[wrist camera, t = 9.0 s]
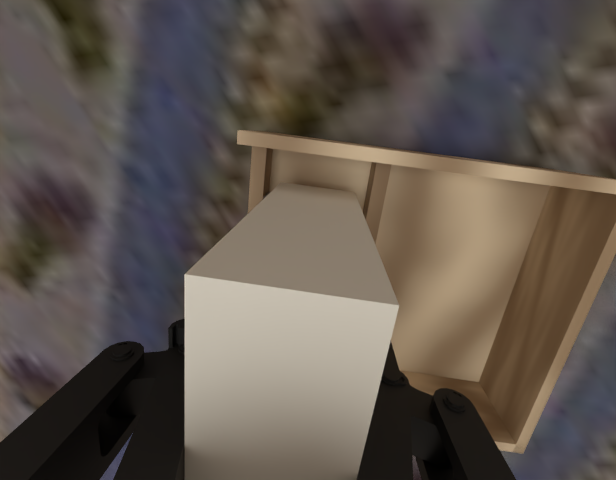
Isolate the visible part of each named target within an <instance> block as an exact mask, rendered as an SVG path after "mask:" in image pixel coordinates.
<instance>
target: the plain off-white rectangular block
mask: <svg viewBox="0 0 616 480" xmlns="http://www.w3.org/2000/svg"><path fill="white" fill-rule="evenodd" d="M398 309H399V304H398V301H397V298H396V296H395V293H394V291H393V288H392V286H391V283H390V281H389V278H388V276H387V273H386V270H385V268H384V265H383V263H382V260H381V258H380V255H379V253H378V250H377V248H376V245H375V242H374V240H373V237H372V235H371V232H370V230H369V227H368V225H367V222H366V220H365V217H364V215H363V212H362V209H361V207H360V204H359V202H358V199H357V197H356V194H355V192H349V191H342V190H335V189H327V188H320V187H313V186H305V185H298V184H291V183H283V182H281V183H280V184H279V185H278V186H277V187H276V188H275V189H274V190H273V191H271V192H270V193H269V194H268V195H267V196H266V197H265V198H264V199H263V200H262V201H261V202H260V203H259V204H258V205H257V206H256V207H255V208H254V209H253V210H252V211H250V212H249V213H248V214H247V215H246V216H245V217H244V218H243V219H242V220H241V221H240V222H239V223H238V224H237V225H236V226H235V227H234V228H233V229H232V230H231V231H229V232H228V233H227V234H226V235H225V236H224V237H223V238H222V239H221V240H220V241H219V242H218V243H217V244H216V245H215V246H214V247H213V248H212V249H211V250H210V251H208V252H207V253H206V254H205V255H204V256H203V257H202V258H201V259H200V260H199V261H198V262H197V263H196V264H195V265H194V266H193V267H192V268H191V269H190V270H189V271H187V272H186V273H185V476H184V480H357V475H358V471H359V467H360V463H361V459H362V455H363V451H364V447H365V443H366V439H367V435H368V431H369V427H370V423H371V418H372V414H373V410H374V406H375V402H376V398H377V394H378V390H379V386H380V382H381V378H382V374H383V370H384V366H385V362H386V357H387V353H388V349H389V345H390V341H391V337H392V333H393V329H394V325H395V321H396V317H397V313H398Z"/></svg>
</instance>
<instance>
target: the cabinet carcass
mask: <svg viewBox="0 0 616 480" xmlns="http://www.w3.org/2000/svg"><path fill="white" fill-rule="evenodd" d="M237 144H241V145H249V146H252V156H251V172H250V187H249V202H248V213H249V212H250V211H252V210H253V209H254V208H255V207H256V206H257V205H258V204H259V203H260V202H261V201H262V200H263V199H264V198H265V197H266V196H267V195H268V194H269V193H270V192H271V191H273V190H274V189H275V188H276V187H277V186H278V185H279V184H280V183H281V182H283V183H291V184H298V185H305V186H313V187H320V188H327V189H335V190H342V191H349V192H355V194H356V197H357V199H358V202H359V204H360V207H361V209H362V212H363V215H364V217H365V220H366V222H367V225H368V227H369V230H370V232H371V235H372V237H373V240H374V242H375V245H376V248H377V250H378V253H379V255H380V258H381V260H382V263H383V265H384V268H385V270H386V273H387V276H388V278H389V281H390V283H391V286H392V288H393V291H394V293H395V296H396V298H397V301H398V304H399V309H398V313H397V317H396V321H395V325H394V329H393V333H392V337H391V343H392V346H393V350H394V353H395V357H396V360H397V364H398V367H399V371H401V372H402V373H404V374H405V376H406V377H407V378H408V380H409V384H410V385H411V386H412V387H414V388H416V389H418V390H420V391H422V392H425V393H428V394H430V395H434V393H435V391H436V390H438V389H440V388H449V389H452V390H455V391H457V392H459V393H461V394H463V395H464V396H466V397H467V398H468V399H469V400H470V401H471V402H472V403H473V405H474V406H475V408H476V410H477V411H478V413H479V415H480V417H481V419H482V420H483V422H484V424H485V426H486V427H487V429H488V431H489V433H490V434H491V436H492V438H493V440H494V442H495V443H496V445H497V447H498V449H499V450H503V451H509V452H516V453H522V454H523V453H524V450H525V448H526V446H527V444H528V442H529V440H530V437H531V435H532V433H533V431H534V429H535V427H536V424H537V422H538V420H539V418H540V416H541V414H542V411H543V409H544V407H545V405H546V403H547V401H548V398H549V396H550V394H551V392H552V390H553V388H554V385H555V383H556V381H557V379H558V377H559V375H560V373H561V370H562V368H563V366H564V364H565V362H566V360H567V357H568V355H569V353H570V351H571V349H572V347H573V344H574V342H575V340H576V338H577V336H578V334H579V331H580V329H581V327H582V325H583V323H584V321H585V318H586V316H587V314H588V312H589V310H590V308H591V305H592V303H593V301H594V299H595V297H596V295H597V292H598V290H599V288H600V286H601V284H602V282H603V279H604V277H605V275H606V273H607V271H608V269H609V267H610V264H611V262H612V260H613V258H614V256H615V254H616V179H612V178H605V177H599V176H592V175H586V174H580V173H573V172H567V171H560V170H554V169H546V168H538V167H531V166H523V165H516V164H508V163H501V162H493V161H485V160H478V159H470V158H463V157H455V156H447V155H440V154H432V153H425V152H417V151H409V150H402V149H394V148H387V147H379V146H372V145H364V144H356V143H349V142H341V141H334V140H326V139H318V138H311V137H303V136H296V135H288V134H281V133H273V132H265V131H247V130H238V135H237Z"/></svg>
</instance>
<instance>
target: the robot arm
mask: <svg viewBox="0 0 616 480" xmlns="http://www.w3.org/2000/svg"><path fill="white" fill-rule="evenodd" d="M168 329H169V349H168V350H166V351H160V352H149V353H144V347H143V346H142V345H141V344H140V343H137V342H131V341H126V342H120V343H116V344H114V345H111V346H109V347H108V348H106V349H105V350H103V351H102V352H101V353H100V354H99V355H98V356H97V357H96V358H94V359H93V360H92V361H91V362H90V363H89V364H88V365H87V366H86V367H84V368H83V369H82V370H81V371H80V372H79V373H78V374H77V375H75V376H74V377H73V378H72V379H71V380H70V381H69V382H68V383H66V384H65V385H64V386H63V387H62V388H61V389H60V390H59V391H58V392H56V393H55V394H54V395H53V396H52V397H51V398H50V399H49V400H47V401H46V402H45V403H44V404H43V405H42V406H41V407H40V408H38V409H37V410H36V411H35V412H34V413H33V414H32V415H31V416H30V417H28V418H27V419H26V420H25V421H24V422H23V423H22V424H21V425H19V426H18V427H17V428H16V429H15V430H14V431H13V432H12V433H10V434H9V435H8V436H7V437H6V438H5V439H4V440H3V441H2V442H0V480H99V479H100V478H101V477H102V475H103V474H104V472H105V471H106V470H107V468H108V467H109V465H110V464H111V463H112V461H113V460H114V458H115V457H116V456H117V454H118V453H119V451H120V450H121V449H122V447H123V446H124V444H125V443H126V441H127V440H128V439H129V437H130V436H131V434H132V433H133V434H132V437H131V439H130V441H129V444H128V446H127V448H126V451H125V453H124V456H123V458H122V460H121V463H120V465H119V467H118V470H117V472H116V475H115V477H114V479H113V480H184V476H185V319H182V320H178V321H176V322H175V323H173V324H172V325H171V326H170V327H169V328H168ZM412 455H414V456H416V461H417V464H418V468H419V471H420V475H421V478H422V480H516V479H515V477H514V475H513V473H512V472H511V470H510V468H509V466H508V465H507V463H506V461H505V459H504V457H503V456H502V454H501V452H500V450H499V449H498V447H497V445H496V443H495V442H494V440H493V438H492V436H491V434H490V433H489V431H488V429H487V427H486V426H485V424H484V422H483V420H482V419H481V417H480V415H479V413H478V411H477V410H476V408H475V406H474V405H473V403H472V402H471V401H470V400H469V399H468V398H467V397H466V396H464V395H463V394H461V393H459V392H457V391H455V390H452V389H449V388H440V389H438V390H436V391H435V393H434V395H430V394H428V393H425V392H422V391H420V390H418V389H416V388H414V387H412V386H411V385H410V384H409V380H408V378H407V377H406V376H405V374H404V373H402V372H401V371H399V367H398V364H397V360H396V357H395V353H394V350H393V346H392V343H391V341H390V345H389V349H388V353H387V357H386V362H385V366H384V370H383V374H382V378H381V382H380V386H379V390H378V394H377V398H376V402H375V406H374V410H373V414H372V418H371V423H370V427H369V431H368V435H367V439H366V443H365V447H364V451H363V455H362V459H361V463H360V467H359V471H358V475H357V480H413V465H412Z"/></svg>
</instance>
